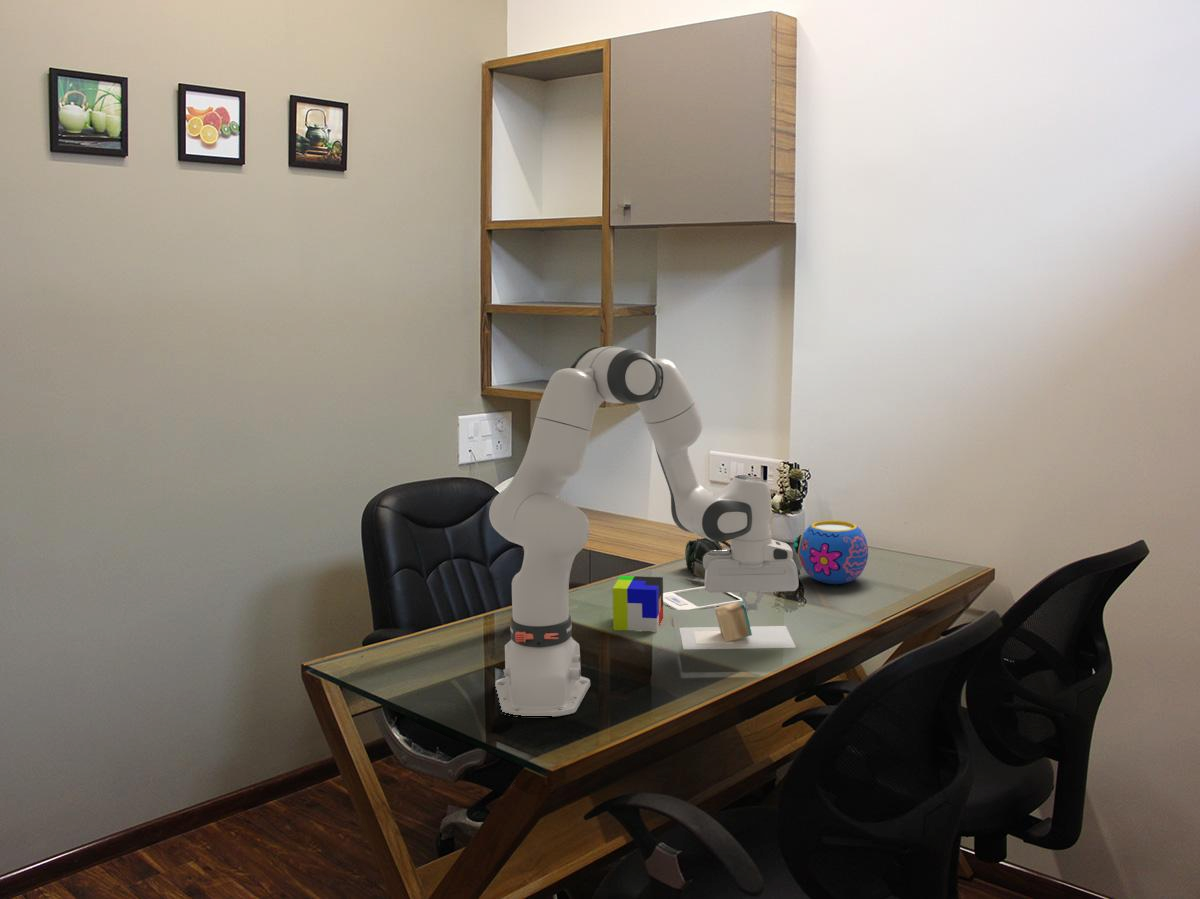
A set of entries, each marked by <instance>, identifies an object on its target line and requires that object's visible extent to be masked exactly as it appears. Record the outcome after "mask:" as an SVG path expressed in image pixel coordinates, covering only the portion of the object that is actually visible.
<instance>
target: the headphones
mask: <svg viewBox="0 0 1200 899" xmlns="http://www.w3.org/2000/svg"><path fill="white" fill-rule="evenodd" d="M720 543H721V544H723V545H725V546H727V547H728V548H729V550H730V549H731V543H730V542H727V541H723V542H717V541H712V540H709V539H707V538H704V537H702V538H700V539H699V538H696V539H695V540H688V541H687V543H686V545H685V548H684V549H685V550H684V551H685V555H684V556H685V564H686V565H685V566H686V568H687V569H688V571H689V572H690V574H692V575H694V576H696V577H698V578H700V579H702V580H704V581H705V571H706V569H705V568H704V567H703V557H704V555H705V554H706V553H707V552H710V550H724V548H723V547H722V545H721V544H720ZM729 543H730V544H729ZM708 555H710V554H708Z"/></svg>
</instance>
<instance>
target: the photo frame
mask: <svg viewBox="0 0 1200 899" xmlns="http://www.w3.org/2000/svg"><path fill="white" fill-rule="evenodd" d="M697 589H702V590H706V589H705V585H704V586H698V587H693V588H686V589H678V590H675V591H668V592H663V602H664V603H665V604H664V603H663V604H664V605H666V604H667V605H668V606H667V605H666V606H667V607H669V606H670V607H669V608H671V609H672V608H673V609H672V610H674V609H675V610H674V611H683V610H685V611H686V610H691V611H692V610H693V611H694V610H703V609H702V608H707V609H711V608H710V607H713V608H716V606H719V607H720V606H723V605H727V604H731V603H735V602H739V601H741V602H742V603H744V601H743V600H742V598H741V596H738V595H736V594H734V593H733V592H727V593H726V594H728V595H730V596H732V597H734V598H737V600H731V601H725V602H724V601H723V602H719V603H714V604H708V605H701V606H698V605H695V604H694V603H692V602H691V601H689V600H687V599H685V598H684V597H681V596H680V595H678V594H684V593H688V592H687V591H690V592H693V591H692V590H696V591H698V590H697ZM676 593H677V594H676Z"/></svg>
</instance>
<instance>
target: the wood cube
mask: <svg viewBox="0 0 1200 899" xmlns="http://www.w3.org/2000/svg"><path fill="white" fill-rule="evenodd" d="M714 610H715V611H714V612H715V616H716V619H717V623H718V627H719V628H720V632H721V635H722V637H723V639H724V641H725V642H727V641H731V640H735V639H739V638H743V637H747V636H751V635H752V633H751V629H750V627H751V625H750V621H749V620H750V619H749V617H748V611H746V609H745V604H744V603H743V602H741V601H739V602H735V603H731V604H727V605H723V606H719V607H714Z"/></svg>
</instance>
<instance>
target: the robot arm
mask: <svg viewBox="0 0 1200 899" xmlns="http://www.w3.org/2000/svg"><path fill="white" fill-rule="evenodd" d="M604 402H607V403H611V404H626V405H634V404H635V405H637V407H638V408H639V410H640V413H641V415H642V418H643V420H644V423H645V424H646V428H647V430H648V431H649V435H650V436H651V439H652V441H653V444H654V448H655V450H656V451H655V452H656V455H657V457H658V460H659V464H660V467H661V470H662V472H663V475H664V479H665V481H666V484H667V487H668V490H669V494H670V512H671V517H672V519H673V521H674V523H675V525H676V526H677V527H678V528H679V529H681V530H683V531H685V532H687V533H691V534H695V535H697V536H700V537H701V538H707V539H709V540H712V541H717V542H719V543H721V542H723V541H726V542H727V541H730V542H729V543H730V545H731V549H730V548H729V549H723V550H710V552H707V553H706V554H705V555H704V557H703V567H704V568H705V569H706V571H705V580H704V586H705V589H704V590H705V591H706V592H707V593H709V594H712V593H713V594H715V593H716V594H718V593H719V594H720V593H726V594H728V593H727V592H730V593H739V597H740V598H742V600H743V601H744V602H743V604H744V607H745V609H746V611H747V612H759V604H760V602H761V600H762V598H764V592H795V591H797V589H798V588H799V585H800V584H799V574H798V568H797V565H796V563H795V562H796V561H795V560H794V559H793V557H794V553H793V552H794V551H793V549H792V547H791V546H790V545H789V544H788V543H786V542H784V541H780V540H776V539H773V538H772V537H773V535H772V531H771V520H772V518H773V517H772V515H773V514H772V513H773V512H772V511H773V510H772V495H771V489H770V486H769V483H768V482H767V481H766V480H765V479H763V478H761V477H757V476H752V475H747V474H738V475H735V476H734V477H733V478H732V480H731V481H730V482H729V483H728V484H727V485H725V487H723V488H722V489H720V490H718V491H717V492H716V491H715V492H712V491H709V490H707V489H706V488H705V487H704V486H702V485H701V484H700V483H699V481H698V480H697V477H696V474H695V471H694V467H693V465H692V462H691V459H690V456H689V452H688V448H690V447H691V446H692V445H693V444H695V442H697V441H698V439H699V437H700V436H701V433H702V429H703V422H702V418H701V413H700V411H699V408H698V405H697V403H696V400H695V399H694V396H693V394H692V391H691V389H690V387H689V386H688V383H687V382H686V380H685V378H684V377H683V375H682V373H681V372H680V370H679V369H678V367H677V366H676V365H675V363H674V362H673V361H671V360H670V359H667V358H663V357H662V358H661V357H658V358H652V357H651V355H648V354H647V353H646V352H644V351H642V350H639V349H636V348H634V349H633V348H625V347H621V346H617V345H616V346H613V345H611V346H595V347H591V348H588V349H586V350H584V351H583V352H581V353H580V354H579V355H578V356H577V358H576V359H575V360H574V362H573V364H572V365H571V366H570V367H568V368H562V369H558V370H556V371H555V372H554V373H553V374H552V375H551V377H550V379H549V381H548V382H547V385H546V387H545V390H544V392H543V394H542V397H541V400H540V402H539V406H538V409H537V412H536V414H535V415H536V416H535V419H534V423H533V427H532V430H531V434H530V438H529V441H528V444H527V447H526V451H525V454H524V456H523V459H522V461H521V463H520V466H519V467H518V470H517V471H516V473H515V475H514V476H513V478H512V480H511V481H510V483H509V484H508V485H507V486H506V488H505V489H503V490H501V492H499V493H498V494H497V495H495V496H494V499H493V500H492V501H491V504H490V506H489V512H488V515H489V516H488V517H489V522H490V524H491V527H492V528H493V530H495V532H497V533H498V534H499V535H500V536H501V537H502V538H504V539H505V540H506V541H507V542H511V543H513V544H517V545H518V546H521V547H522V548H523V553H524V554H523V560H522V565H521V568H520V570H519V572H517V573H516V574H515V575H514V576H513V577H512V580H511V604H512V605H511V606H512V611H511V612H512V616H511V617H510V624H509V625H510V626H509V628H510V629H509V631H510V640H509V641H508V642H506V644H504V661H505V662H504V665H505V666H504V667H505V668H503V670H502V675H503V677H502V678H500V679H497V680H496V681H495V686H494V687H496V688H495V691H496V690H497V692H496V695H497V694H498V696H497V699H498V698H499V700H498V703H500V704H499V706H501V708H500V711H501V710H502V712H505V713H509V714H513V715H521V716H552V717H561V716H566V715H571V714H575V713H576V712H577V711H578V708H579V707H580V705H581V703H582V701H583V699H584V698H585V696H586V693H587V692H588V690H589V688H590V687H591V680H590V678H588V677H585V676H582V670H581V669H582V668H581V652H580V643H578V642H577V641H576V640H575V639H574V638H573V637H572V634H573V633H572V631H573V630H572V628H573V624H572V616H571V615H570V614H569V613H570V612H569V609H570V608H569V606H570V605H569V603H570V602H569V596H570V595H569V590H570V588H569V587H570V586H569V584H570V576H571V575H570V574H571V570H572V567H573V566H572V565H573V564H574V560H575V558H576V555H578V553H579V552H581V551H582V550H583V549H584V547H585V546H586V545H587V542H588V540H589V537H590V532H591V527H590V526H591V525H590V522H589V521H590V520H589V518H588V516H587V514H586V513H585V512H584V511H583V510H582V509H580V508H579V507H578V506H576V505H575V504H573V503H572V502H570V501H568V500H566V499H563V498H560V497H559V496H560V494H561V492H562V491H563V489H564V487H565V485H566V484H567V483H568V481H569V480H570V479H571V478H572V477H575V476H576V475H577V474H578V473H580V471H581V469H582V467H583V463H584V459H585V456H586V455H585V454H586V451H587V448H588V443H589V440H590V435H591V432H592V427H593V425H594V424H593V423H594V418H595V415H596V413H597V410H598V409H599V407H600V406H601V405H602V403H604ZM708 554H710V555H708ZM748 593H755V595H756V597H755V598H754V600H753V601H751V600H750V601H748V600H747V596H748ZM502 712H501V713H502Z"/></svg>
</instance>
